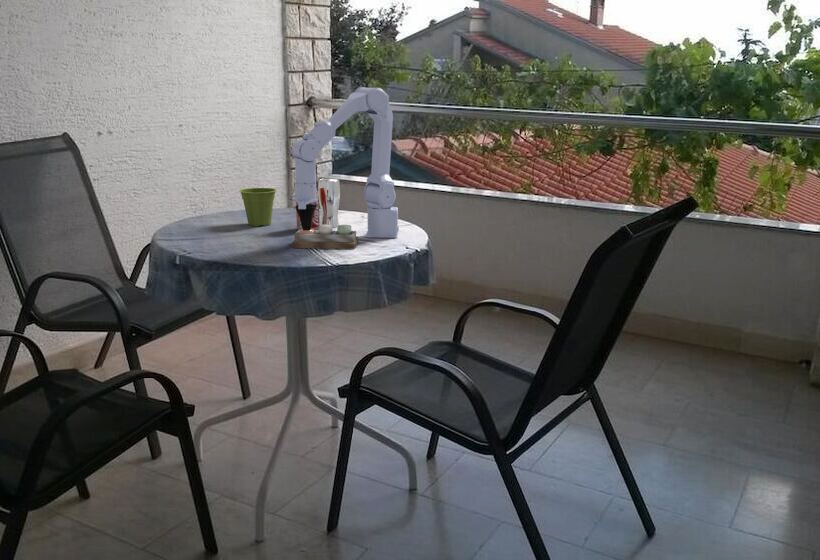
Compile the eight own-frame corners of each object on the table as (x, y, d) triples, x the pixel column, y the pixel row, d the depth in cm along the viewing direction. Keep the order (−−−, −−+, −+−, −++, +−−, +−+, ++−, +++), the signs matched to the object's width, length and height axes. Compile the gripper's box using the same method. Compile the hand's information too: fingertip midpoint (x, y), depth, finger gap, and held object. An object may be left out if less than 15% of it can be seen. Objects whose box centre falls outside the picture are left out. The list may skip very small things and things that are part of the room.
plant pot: (280, 221, 257) (279, 187, 254) (274, 228, 245) (272, 193, 242) (245, 220, 257) (243, 186, 254) (236, 227, 246) (235, 192, 243)
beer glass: (316, 227, 247) (315, 180, 243) (322, 223, 253) (321, 177, 250) (337, 228, 246) (336, 181, 242) (342, 224, 252) (342, 178, 248)
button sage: (352, 232, 224) (351, 224, 224) (350, 235, 220) (350, 227, 220) (338, 232, 224) (338, 224, 224) (336, 235, 221) (336, 227, 220)
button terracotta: (315, 236, 225) (314, 228, 224) (312, 239, 221) (312, 231, 221) (301, 236, 225) (301, 228, 224) (299, 239, 221) (298, 231, 221)
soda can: (315, 232, 240) (314, 190, 237) (293, 231, 241) (292, 189, 238) (322, 228, 247) (321, 187, 243) (301, 226, 248) (300, 186, 245)
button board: (357, 241, 228) (357, 229, 227) (354, 248, 218) (354, 236, 217) (298, 240, 229) (298, 228, 228) (292, 247, 219) (292, 235, 218)
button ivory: (333, 232, 224) (333, 224, 224) (331, 235, 221) (331, 227, 220) (319, 232, 225) (319, 224, 224) (317, 235, 221) (317, 227, 220)
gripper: (296, 179, 226) (297, 224, 230) (286, 186, 212) (288, 234, 216) (320, 179, 226) (321, 225, 229) (312, 186, 212) (313, 235, 215)
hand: (306, 229), depth 222 cm, fingers closed, pressing on button terracotta
